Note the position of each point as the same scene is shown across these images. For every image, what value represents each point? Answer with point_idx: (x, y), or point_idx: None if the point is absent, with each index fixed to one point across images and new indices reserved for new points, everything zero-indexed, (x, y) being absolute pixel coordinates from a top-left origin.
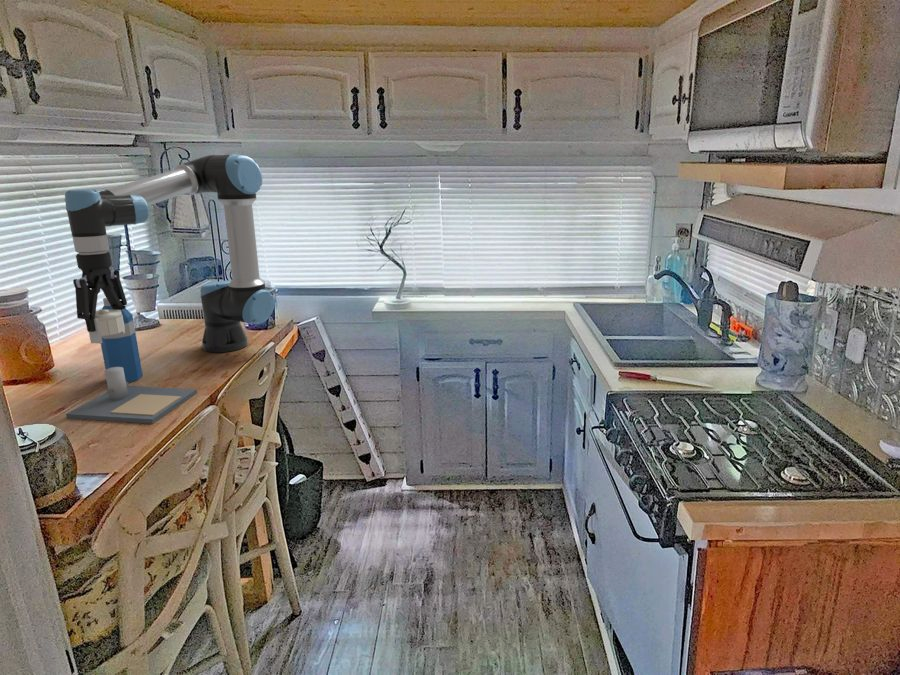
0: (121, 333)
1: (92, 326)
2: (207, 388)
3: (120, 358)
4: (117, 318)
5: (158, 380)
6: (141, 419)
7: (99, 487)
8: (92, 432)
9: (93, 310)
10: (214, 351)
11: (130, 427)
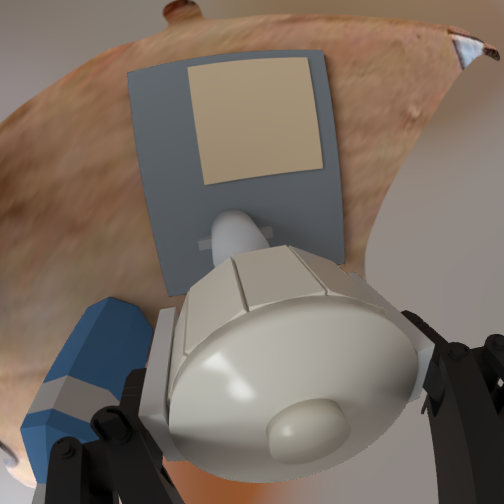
0: (177, 317)
1: (421, 327)
2: (95, 78)
3: (125, 347)
4: (304, 291)
5: (90, 246)
6: (326, 75)
7: (470, 37)
8: (381, 150)
9: (474, 387)
10: None
11: (346, 88)
